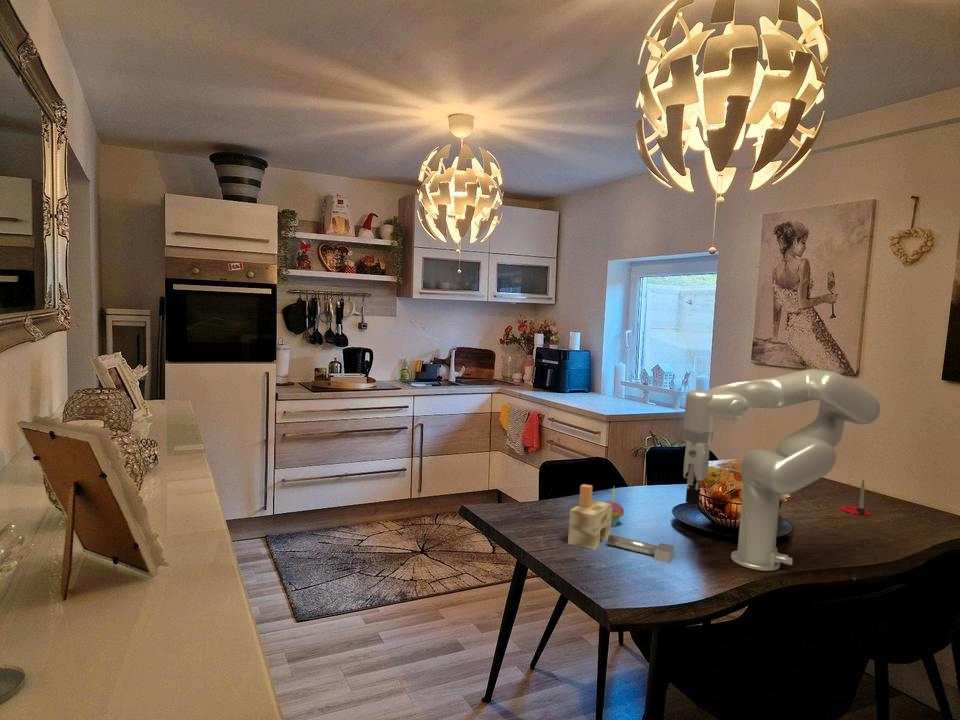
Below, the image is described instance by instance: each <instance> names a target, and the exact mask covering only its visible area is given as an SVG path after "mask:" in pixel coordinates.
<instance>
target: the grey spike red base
mask: <svg viewBox="0 0 960 720" xmlns="http://www.w3.org/2000/svg"><path fill="white" fill-rule="evenodd" d="M865 487H866V486H865V479H861V485H860V493H859V494H860V495H859V501H858V507H856V506H851V505H850V506H849V505H841V506H840V508H839V510H840V511H843V512H846V513H849V514H851V515H853V516H862V515H864V516H868V515H869V516H871V515H872V513H871V511H867V509H866V508H864V507H865V501H864V499H865ZM853 509H855V510H853ZM869 516H868V517H869Z"/></svg>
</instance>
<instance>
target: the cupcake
mask: <svg viewBox="0 0 960 720" xmlns="http://www.w3.org/2000/svg"><path fill="white" fill-rule="evenodd" d="M615 491H616V489H615V486H613V488H612V495H611V500H610V501H604V502H605V503H610V504H612V518H611V527H616V526H617V524H618V523H619V521H620V518H621V517H623V516H624V513H625V512H624V507H622V505H621V504H619V503H618V502H615V501H614V500H615Z"/></svg>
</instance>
